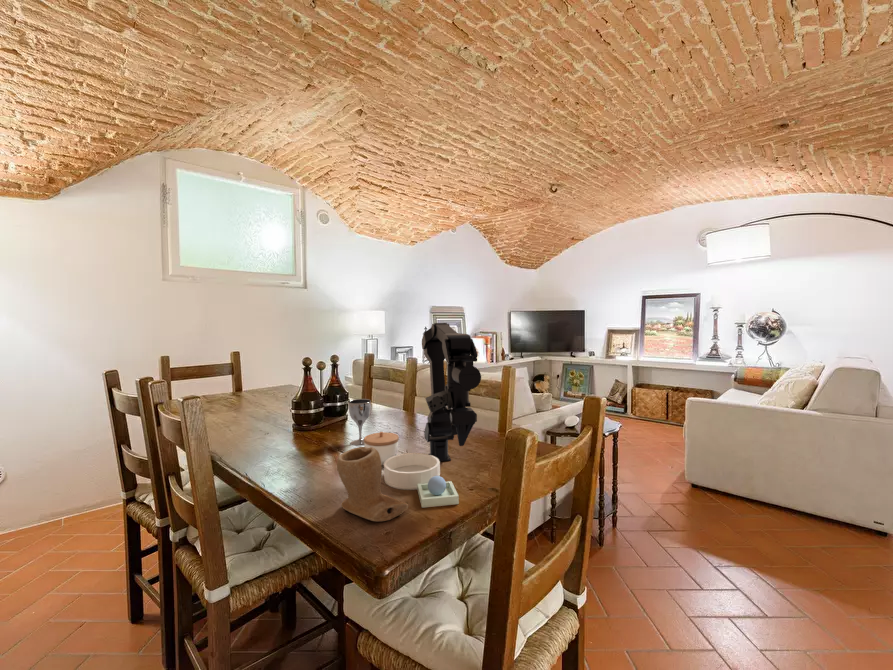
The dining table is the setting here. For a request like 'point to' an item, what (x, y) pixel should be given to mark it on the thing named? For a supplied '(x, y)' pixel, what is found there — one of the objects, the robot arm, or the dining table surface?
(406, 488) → the bowl
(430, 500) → the tray
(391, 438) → the lidded jar
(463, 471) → the dining table surface
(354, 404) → the wine glass
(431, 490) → the ball
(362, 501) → the tan boot vase
